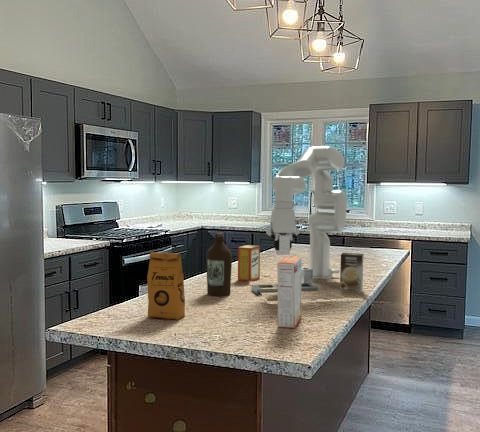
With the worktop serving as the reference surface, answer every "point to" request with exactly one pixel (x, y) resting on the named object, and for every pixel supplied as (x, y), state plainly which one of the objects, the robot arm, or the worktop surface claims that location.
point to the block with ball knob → (306, 275)
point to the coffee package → (165, 286)
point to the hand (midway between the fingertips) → (282, 249)
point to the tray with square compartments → (274, 288)
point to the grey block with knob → (283, 245)
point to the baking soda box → (248, 263)
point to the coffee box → (351, 271)
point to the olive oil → (218, 268)
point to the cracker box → (289, 292)
